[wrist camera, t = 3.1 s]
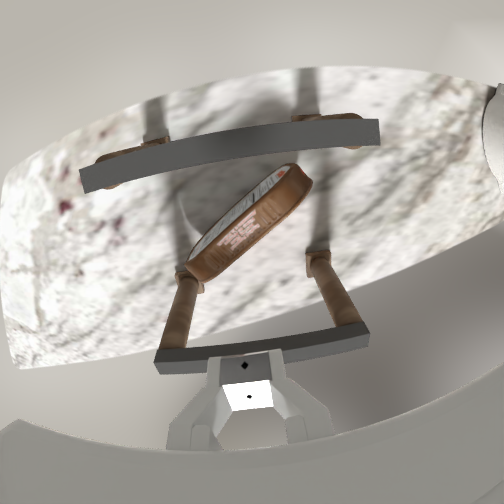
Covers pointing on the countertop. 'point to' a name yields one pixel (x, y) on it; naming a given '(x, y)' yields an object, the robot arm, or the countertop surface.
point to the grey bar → (230, 148)
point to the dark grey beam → (267, 349)
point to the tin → (248, 221)
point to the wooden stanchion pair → (190, 286)
